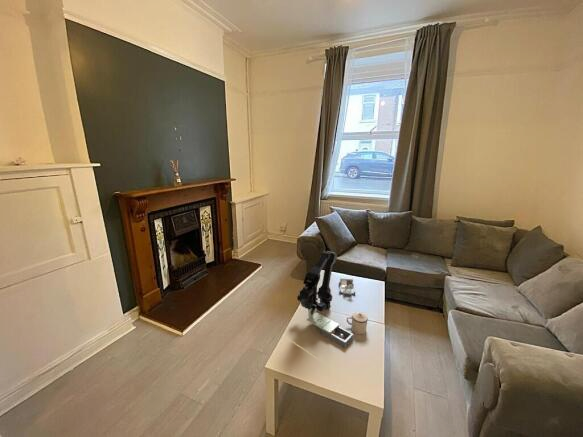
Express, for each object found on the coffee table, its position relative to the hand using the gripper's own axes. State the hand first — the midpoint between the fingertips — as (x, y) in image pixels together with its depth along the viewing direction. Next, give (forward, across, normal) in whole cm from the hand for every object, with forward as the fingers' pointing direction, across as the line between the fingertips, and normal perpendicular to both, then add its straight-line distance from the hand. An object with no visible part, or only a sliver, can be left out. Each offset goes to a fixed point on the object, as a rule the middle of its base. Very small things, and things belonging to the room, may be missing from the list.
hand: (311, 313), depth 152 cm
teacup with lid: (+6, +24, +14) cm, 28 cm away
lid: (+2, +8, 0) cm, 8 cm away
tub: (+6, +19, 0) cm, 20 cm away
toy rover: (+7, -3, +49) cm, 50 cm away
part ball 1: (+5, +16, 0) cm, 17 cm away
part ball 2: (+6, +22, 0) cm, 22 cm away
